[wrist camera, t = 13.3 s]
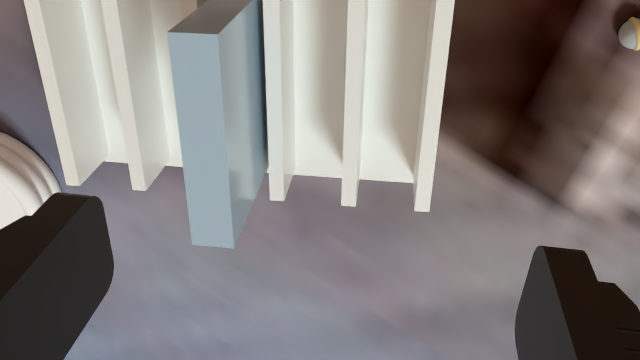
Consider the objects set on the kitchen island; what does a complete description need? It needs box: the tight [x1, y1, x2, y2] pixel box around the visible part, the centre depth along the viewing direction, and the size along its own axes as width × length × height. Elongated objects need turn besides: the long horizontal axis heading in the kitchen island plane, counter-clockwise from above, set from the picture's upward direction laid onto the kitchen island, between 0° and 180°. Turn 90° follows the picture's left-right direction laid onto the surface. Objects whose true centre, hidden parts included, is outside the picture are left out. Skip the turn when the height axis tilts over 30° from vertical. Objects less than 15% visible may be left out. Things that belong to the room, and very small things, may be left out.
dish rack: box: [24, 0, 455, 212], centre depth 32 cm, size 13×22×5 cm, turn 89°
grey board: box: [167, 0, 269, 248], centre depth 29 cm, size 10×2×10 cm, turn 179°
